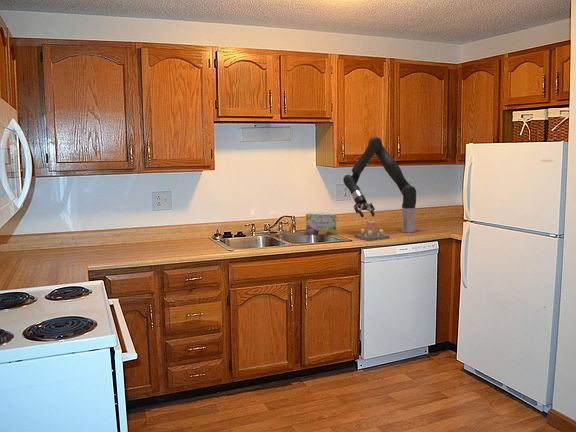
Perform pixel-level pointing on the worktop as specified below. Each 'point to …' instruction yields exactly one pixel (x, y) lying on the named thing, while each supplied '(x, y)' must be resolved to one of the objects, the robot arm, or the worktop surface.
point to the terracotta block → (372, 227)
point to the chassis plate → (365, 237)
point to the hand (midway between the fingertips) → (368, 216)
